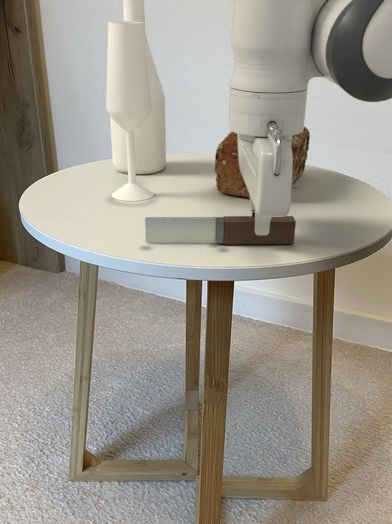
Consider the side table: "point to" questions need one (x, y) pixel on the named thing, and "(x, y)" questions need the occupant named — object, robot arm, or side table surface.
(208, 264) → the side table surface
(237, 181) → the bread
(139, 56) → the champagne flute
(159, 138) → the wine bottle
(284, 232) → the knife
